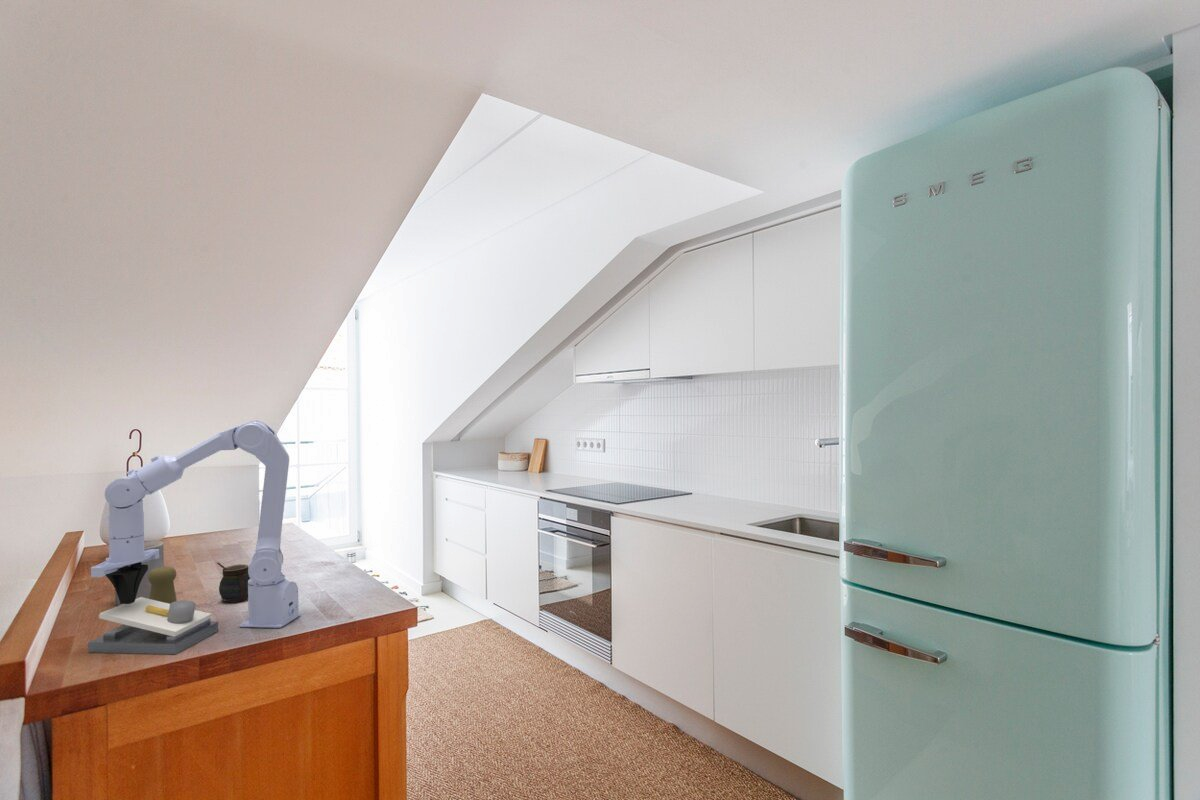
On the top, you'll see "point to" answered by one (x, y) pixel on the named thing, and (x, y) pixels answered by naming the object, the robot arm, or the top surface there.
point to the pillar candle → (152, 564)
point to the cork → (162, 584)
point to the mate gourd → (234, 583)
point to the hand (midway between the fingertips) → (127, 602)
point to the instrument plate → (157, 615)
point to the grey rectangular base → (149, 640)
